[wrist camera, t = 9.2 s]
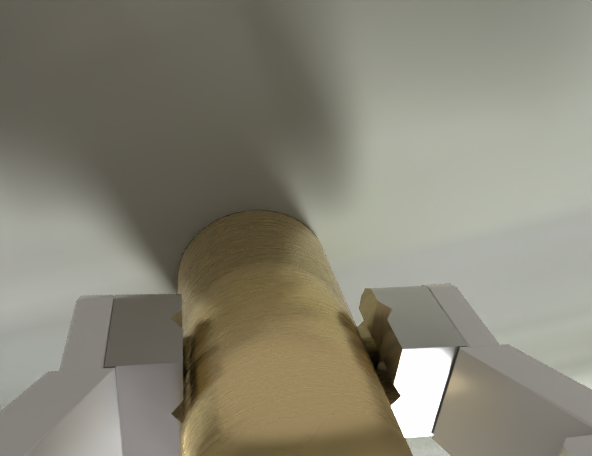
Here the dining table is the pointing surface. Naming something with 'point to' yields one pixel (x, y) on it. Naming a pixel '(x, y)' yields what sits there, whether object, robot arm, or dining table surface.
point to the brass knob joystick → (274, 349)
